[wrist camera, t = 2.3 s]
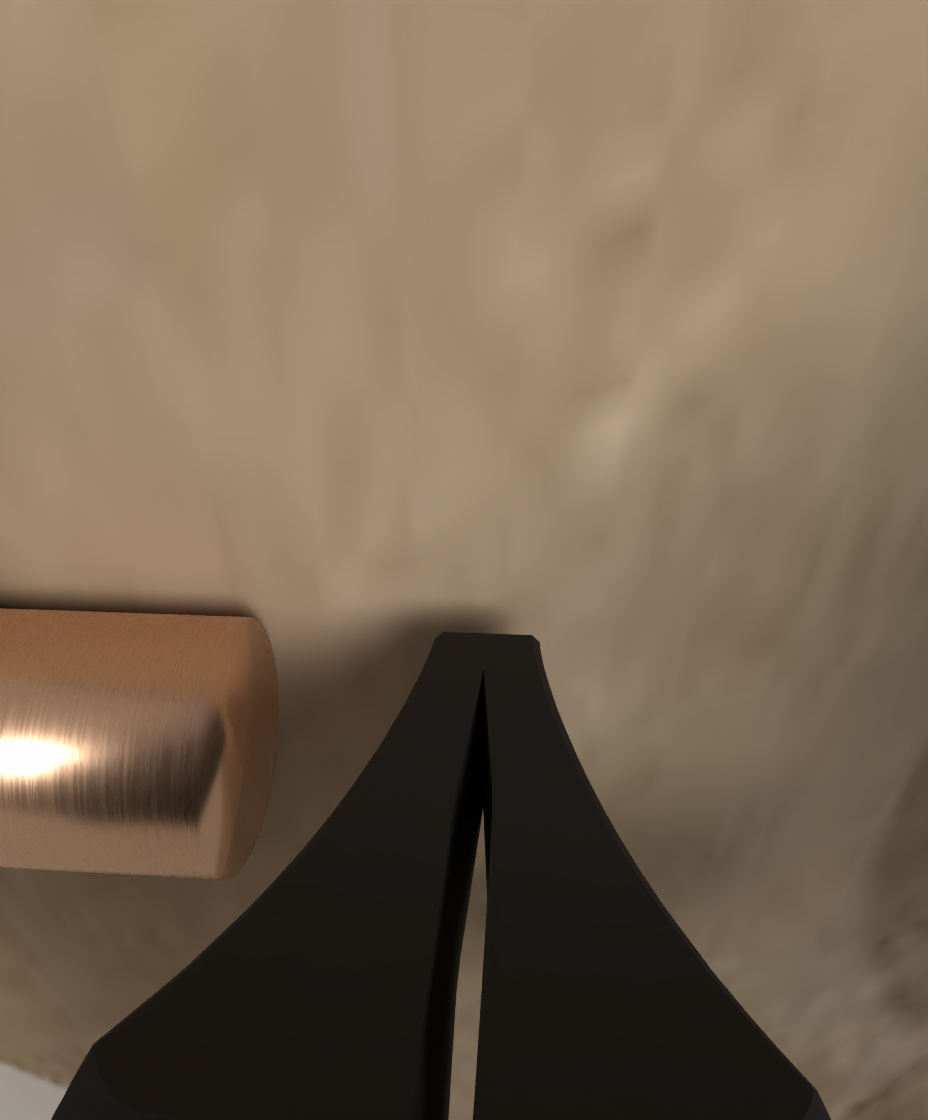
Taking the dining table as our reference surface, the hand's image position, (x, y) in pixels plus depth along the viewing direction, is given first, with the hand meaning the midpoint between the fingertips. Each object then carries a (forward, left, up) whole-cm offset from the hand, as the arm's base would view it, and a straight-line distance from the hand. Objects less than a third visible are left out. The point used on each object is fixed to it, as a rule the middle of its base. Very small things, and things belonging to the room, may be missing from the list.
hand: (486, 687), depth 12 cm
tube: (+8, 0, -1) cm, 8 cm away
